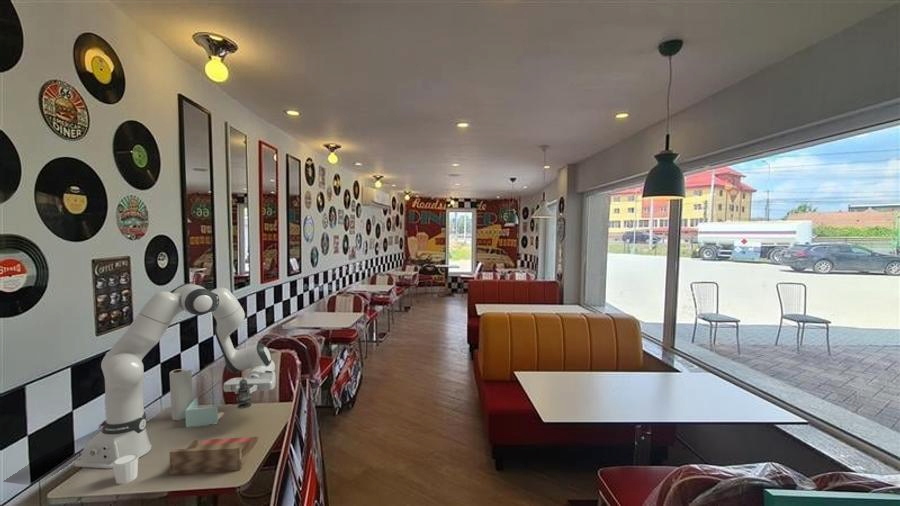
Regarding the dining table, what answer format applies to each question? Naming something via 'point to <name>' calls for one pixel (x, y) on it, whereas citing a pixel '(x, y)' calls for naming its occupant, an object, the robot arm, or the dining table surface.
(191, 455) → the tray
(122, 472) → the white tapered cup
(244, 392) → the stone chess piece
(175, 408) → the paper towel roll
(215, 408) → the l-shaped corner panel
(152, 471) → the dining table surface
